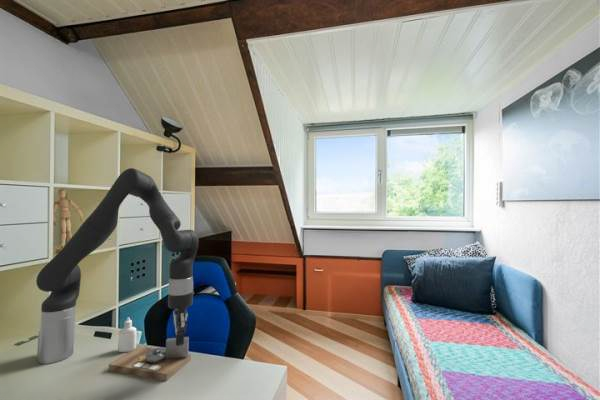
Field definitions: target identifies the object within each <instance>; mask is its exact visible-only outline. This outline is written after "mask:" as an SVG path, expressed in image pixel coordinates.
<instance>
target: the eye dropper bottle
mask: <svg viewBox="0 0 600 400" xmlns="http://www.w3.org/2000/svg"><path fill="white" fill-rule="evenodd" d="M123 323H124V324H123V325H124V327H122V328H121V329H120V330H118V343H117V346H118V347H117V351H118V352H119V353H128V352H130V351H132V350H133V349H135V348H137V333H138V332H137V331H138V330H137V328H136V327H135V326H133V320H132V319H130V317H127V318H126V320H125V321H124V322H123Z"/></svg>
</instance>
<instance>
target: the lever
mask: <svg viewBox="0 0 600 400" xmlns="http://www.w3.org/2000/svg"><path fill="white" fill-rule="evenodd" d="M189 343H190V336H184V344H183V345H180V346H177V345H176V337H170V338H169V337H168V338H167V339H166V340H165V347H156V348H153V349H152V350H150V351H148V352H147V353H146V356H139V357H138V360H145V359H146V363H148V364H156V363H159V362H162V361H164V360H165V359H171V358H182V357H187V356H188V354H189V345H190V344H189Z"/></svg>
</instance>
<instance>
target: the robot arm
mask: <svg viewBox="0 0 600 400" xmlns="http://www.w3.org/2000/svg"><path fill="white" fill-rule="evenodd" d="M128 195H130V196H134V197H136V198H139V199H141V200H142V201H144V203H146V205H147V206H148V211H149V213H148V214H149V217H150V219H151V221H152V222H153V223H154V225H155V226H156V228H157V229H158V230H159V231H160V232H159V233H160V236H161V240H162V243H163V246H164V248H165V249H166V250H168V252H171V253H175V254H176V253H179V256H178V257H176V258H174V259H173V260H171V261H170V263H169V280H168V286H167V287H168V289H167V290H168V293H167V295H168V297H167V307H168V308H169V309H172V310H173V311H172V312H173V313H172V314H173V327H174V329H175V330H174V332H175V338H176V345H177V346H180V345H183V344H184V337H185V334H186V333H187V327H188V317H189V314H188V311H187V308H188V307H192V305H193V304H194V303H193V302H194V279H193V278H194V276H193V275H194V274H193V272H194V269H193V267H194V263H195V259H196V254H197V252H198V248H199V242H200V241H199V236H198V234H197V232H196V231H195V230H194V229H193V230H192V229H181V230H180V228H181V224H182V223H181V220H180V219H179V217H178V216H177V214H176V213H175V212H174V211H173V210H172V209H171V207H170V206H169V204H168V203H167V202H166V200H165V198H164V197H163V195H162V193H161V192H160V190H159V188H158V185H157V184H156V182H155V180H154V179H153V177H152V176H150V175H148V174H147V173H145V172H142V171H140V170H138V169H137V168H133V167H130V168H127V169H125V170H123V171H122V172H121V173H120V175H118V177H117V178H116V180H115V181H114V183H113V184H112V185H111V187H110V189H109V190H108V191H107V193H106V195H105V196H104V197H103V199H101V201H100V202H99V204H98V205H97V206H96V208H95V209H94V210H93V211H92V213H91V214H90V215H89V216H88V217H87V218H86V219H85V221H83V223H82V224H81V225H80V226H79V228H78V229H77V230H76V232H75V233H74V234H73V235H72V237H71V238H70V239H69V240H68V241H67V242H66V244H65V245H63V247H62V249H60V251H58V252H57V254H55V256H54V257H53V258H52V259H51V260H50V261H49V262H48V263H47V264H45V265H44V266H43V267H42V268H41V269H40V270H39V272H38V274H37V276H36V281H35V282H36V286H37V288H38V289H39V290H40V291H42V292H47V293H48V292H49V295H48V296H47V297H46V298H45V300H44V301H42V303H41V310H40V311H41V312H40V330H39V331H38V332H37V333H38V334H37V335H38V336H37V350H36V351H37V352H36V353H37V354H36V359H37V360H38V363H39V364H43V365H47V364H53V363H57V362H60V361H61V362H62V361H63V360H66V359H68V358H69V357H71V356H72V355H73V354H74V350H75V349H74V347H75V332H76V331H75V330H76V329H75V328H76V310H77V300H78V298H79V295H80V289H81V280H82V272H81V268H80V265H79V264H80V262H81V261H82V260H84V259H85V258H86V257H88V256H89V255H90V254H91V253H93V252H94V251H96V250H97V249H98V248H99V247H101V246H102V245H103V243H105V242H106V241H107V240H108V239H109V237H111V235H112V233H113V232H114V231H115V230H116V229H117V226H118V221H119V210H120V207H121V205H122V203H123V202H124V200H125V199H126V198H127V197H128Z"/></svg>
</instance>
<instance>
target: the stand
mask: <svg viewBox="0 0 600 400" xmlns="http://www.w3.org/2000/svg"><path fill="white" fill-rule="evenodd" d="M152 349H154V348H152V347H147V346H141V345H140V346H136V348H135V349H133V350H132V351H130V352H126V353H125V354H123V355H122V356H120V357H118V358H117V359H115V360H114V361H112V362H110V363H109V364H108V371H110V372H115V373H116V372H117V373H122V374H128V375H133V376H138V377H143V378H149V379H155V380H161V381H168V380H169V379H170V378H172V376H175V374H176V373H177V372H179V371H180V369H182V368H183V367H184V366H185V365H186V364H188V363H189V362H191V358H192V357H191V355H192V354H191V353H188V356H187V357H182V358H171V359H165V360H164V361H162V362H159V363H156V364H148V363H146V359H145V360H138V357H139V356H146V353H147V352H148V351H150V350H152Z"/></svg>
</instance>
